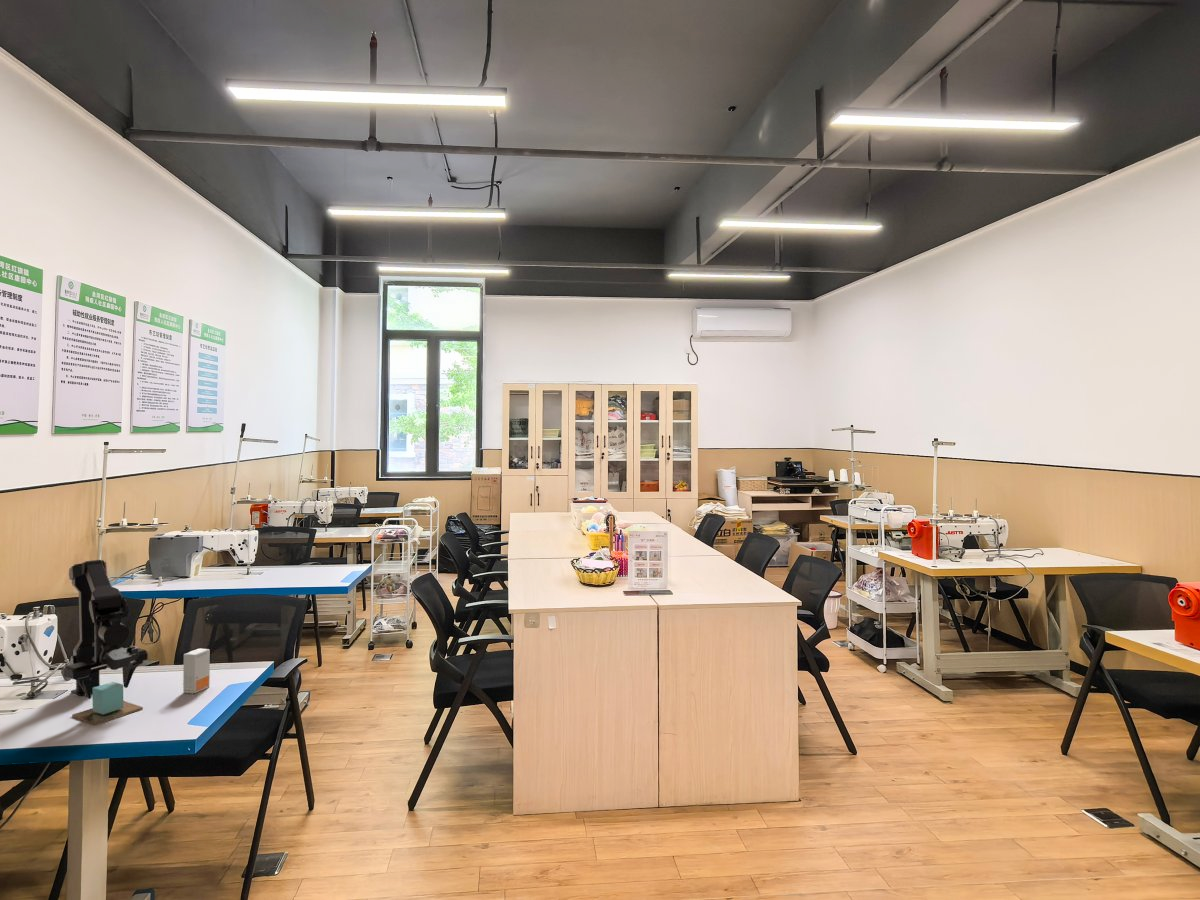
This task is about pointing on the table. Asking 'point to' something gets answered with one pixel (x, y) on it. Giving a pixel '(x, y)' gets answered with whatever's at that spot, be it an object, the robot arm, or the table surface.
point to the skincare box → (196, 670)
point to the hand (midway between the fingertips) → (107, 693)
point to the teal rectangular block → (107, 697)
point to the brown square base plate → (99, 718)
